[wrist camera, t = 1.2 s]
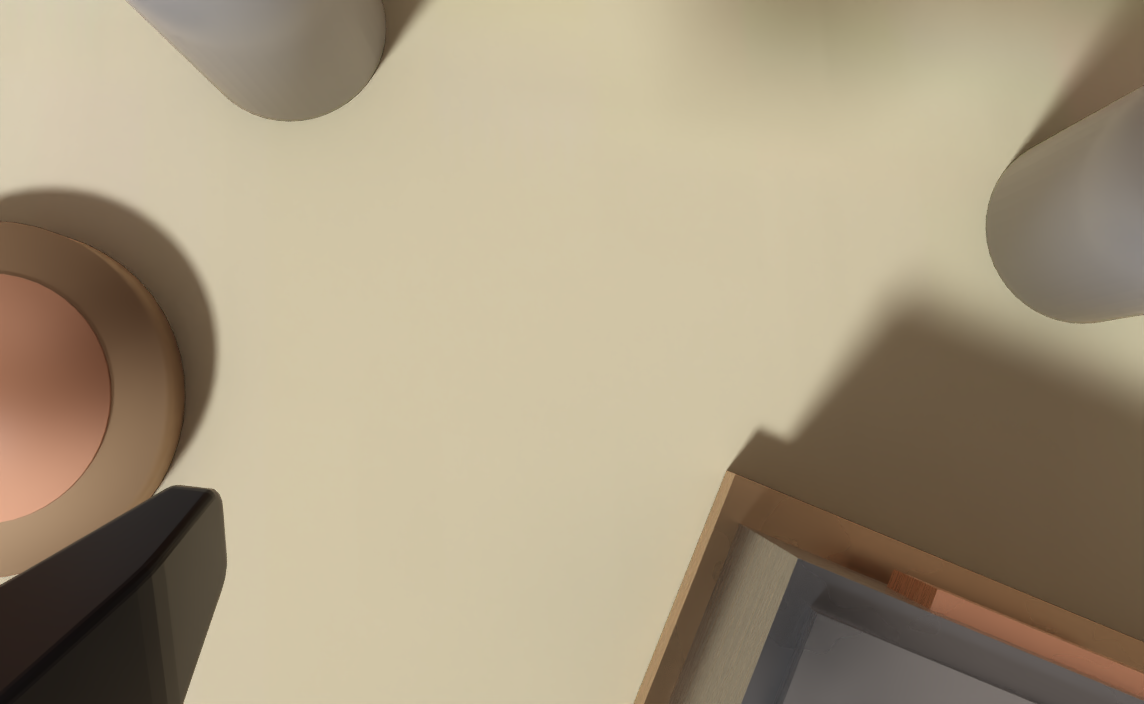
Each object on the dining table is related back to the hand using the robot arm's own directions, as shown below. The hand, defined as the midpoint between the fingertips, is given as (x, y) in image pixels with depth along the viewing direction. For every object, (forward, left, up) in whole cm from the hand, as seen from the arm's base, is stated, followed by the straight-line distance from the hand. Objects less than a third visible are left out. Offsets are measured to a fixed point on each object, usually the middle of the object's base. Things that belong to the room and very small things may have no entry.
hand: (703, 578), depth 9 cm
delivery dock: (+10, +10, -15) cm, 20 cm away
